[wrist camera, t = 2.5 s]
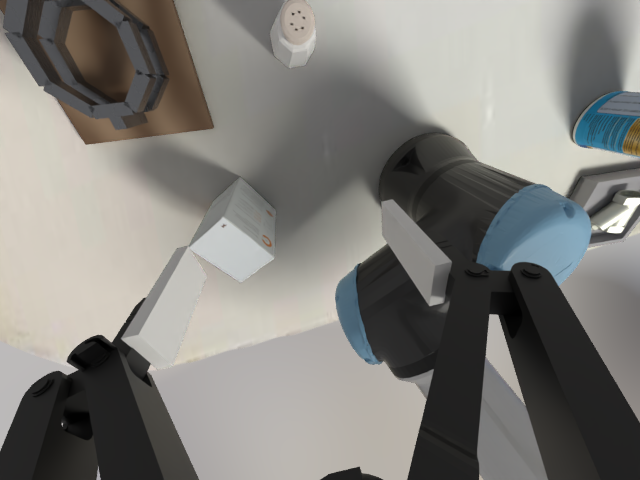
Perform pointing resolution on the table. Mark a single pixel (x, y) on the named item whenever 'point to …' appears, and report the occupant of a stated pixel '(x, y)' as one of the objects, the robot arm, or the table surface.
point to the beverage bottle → (611, 124)
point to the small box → (237, 232)
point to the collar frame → (81, 95)
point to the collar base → (118, 72)
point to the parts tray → (606, 200)
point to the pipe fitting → (616, 212)
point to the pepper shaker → (294, 33)
